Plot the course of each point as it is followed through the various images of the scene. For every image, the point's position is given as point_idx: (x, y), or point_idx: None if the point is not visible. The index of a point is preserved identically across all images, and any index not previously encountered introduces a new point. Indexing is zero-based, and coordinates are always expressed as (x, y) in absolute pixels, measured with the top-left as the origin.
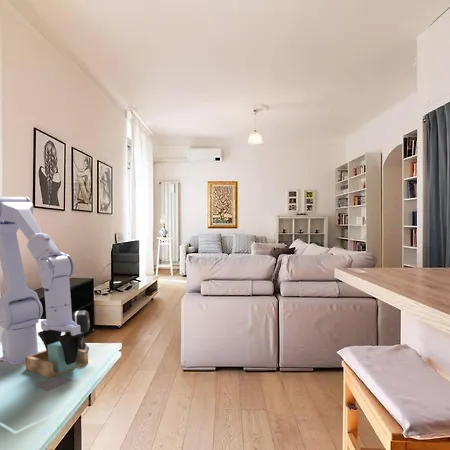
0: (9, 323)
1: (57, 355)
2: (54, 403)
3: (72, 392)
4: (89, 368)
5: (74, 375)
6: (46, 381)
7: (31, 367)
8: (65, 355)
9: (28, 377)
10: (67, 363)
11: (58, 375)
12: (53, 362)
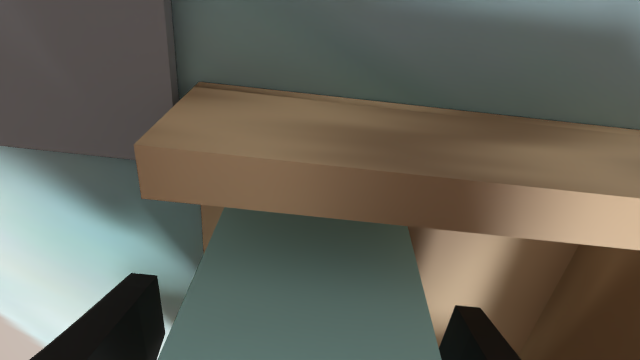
0: None
1: (184, 327)
2: None
3: None
4: None
5: (94, 218)
6: (115, 7)
7: (581, 143)
8: (59, 349)
9: (484, 26)
10: (123, 282)
11: None
12: (310, 258)
